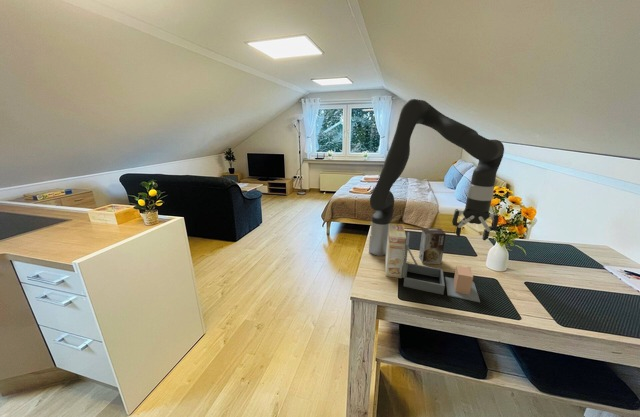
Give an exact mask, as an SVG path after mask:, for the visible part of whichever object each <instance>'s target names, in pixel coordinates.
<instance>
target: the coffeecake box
mask: <svg viewBox="0 0 640 417" xmlns="http://www.w3.org/2000/svg"><path fill="white" fill-rule="evenodd" d="M405 230H406V229H405V226H404V225H403V224H393V223H390V224H389V227H388V237H387V248H386V255H385V259H384V261H385V262H384V263H385V277H391V278H396V279H402V271H403V262H404V253H405V245H406V238H407V233H406V231H405Z"/></svg>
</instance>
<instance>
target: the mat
mask: <svg viewBox="0 0 640 417" xmlns="http://www.w3.org/2000/svg"><path fill="white" fill-rule="evenodd" d="M453 281H454V277H448V276H445V277H444V282H445V288H446V294H447V297H452V298H458V299H461V300H467V301H471V302H476V303H481V301H480V300H481V299H480V296H479V292H478V290H477V288H476V284H475V282H474V281H472V286H471V290H470V295H468V294H463V293H458V292H455V288H454V283H453Z"/></svg>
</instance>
